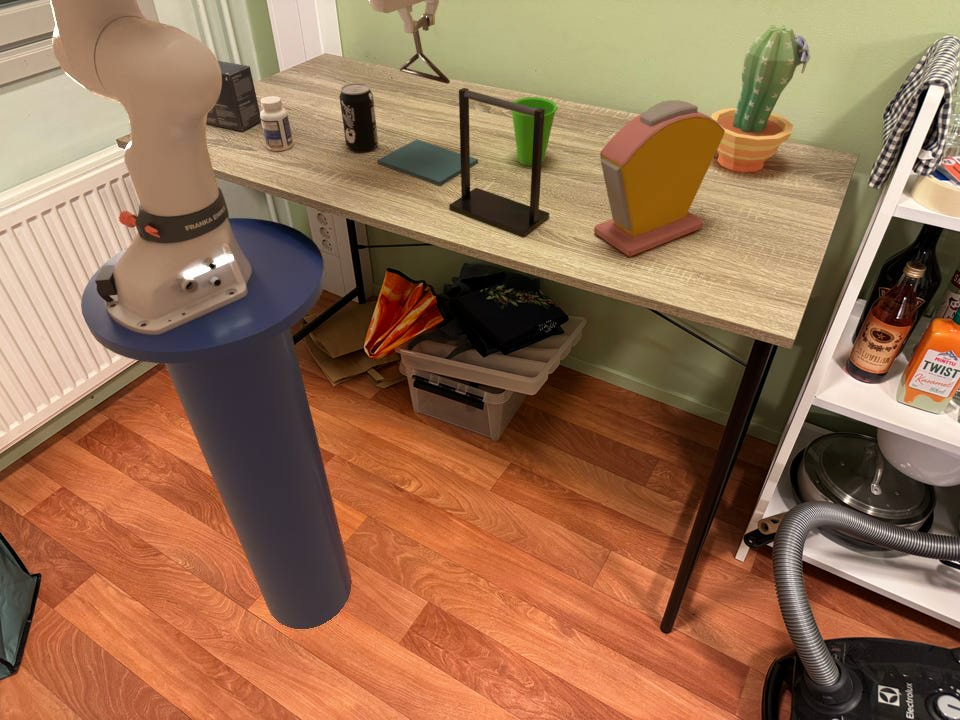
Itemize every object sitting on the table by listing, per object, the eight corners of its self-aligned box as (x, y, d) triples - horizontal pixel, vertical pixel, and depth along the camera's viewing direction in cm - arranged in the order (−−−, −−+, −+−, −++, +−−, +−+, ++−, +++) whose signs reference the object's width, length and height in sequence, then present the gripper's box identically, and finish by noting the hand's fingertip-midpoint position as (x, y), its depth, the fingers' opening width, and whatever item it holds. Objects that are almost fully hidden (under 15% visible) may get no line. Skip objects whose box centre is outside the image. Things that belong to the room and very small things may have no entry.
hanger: (448, 85, 121) (439, 31, 114) (398, 71, 127) (387, 20, 119) (459, 76, 123) (451, 23, 116) (410, 63, 128) (399, 12, 121)
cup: (534, 175, 131) (537, 119, 124) (499, 161, 136) (500, 106, 128) (562, 160, 136) (567, 105, 129) (527, 147, 140) (530, 93, 133)
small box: (263, 121, 151) (251, 65, 143) (243, 132, 147) (229, 75, 139) (217, 111, 156) (203, 56, 148) (196, 122, 151) (180, 66, 143)
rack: (523, 237, 114) (528, 119, 101) (449, 209, 121) (444, 96, 108) (549, 218, 119) (557, 102, 105) (476, 192, 126) (475, 81, 113)
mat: (440, 185, 128) (439, 182, 127) (377, 163, 135) (377, 159, 135) (478, 162, 135) (478, 159, 135) (416, 142, 142) (416, 139, 142)
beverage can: (340, 148, 140) (331, 89, 133) (361, 137, 145) (354, 79, 137) (363, 156, 138) (356, 96, 130) (385, 144, 142) (378, 86, 134)
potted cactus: (765, 187, 127) (807, 46, 110) (687, 165, 134) (716, 29, 117) (792, 158, 136) (835, 24, 119) (718, 138, 143) (749, 9, 126)
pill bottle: (285, 138, 144) (275, 92, 138) (298, 146, 141) (289, 99, 135) (262, 146, 142) (251, 99, 135) (275, 154, 139) (265, 106, 132)
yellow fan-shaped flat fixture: (675, 202, 123) (700, 81, 108) (714, 225, 117) (746, 99, 102) (580, 238, 114) (593, 110, 100) (616, 263, 108) (636, 132, 94)
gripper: (439, -76, 117) (443, 12, 126) (356, -55, 105) (366, 40, 114) (468, -72, 114) (470, 17, 123) (386, -50, 102) (394, 47, 111)
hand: (419, 28), depth 119 cm, fingers closed on hanger, 3 cm apart
